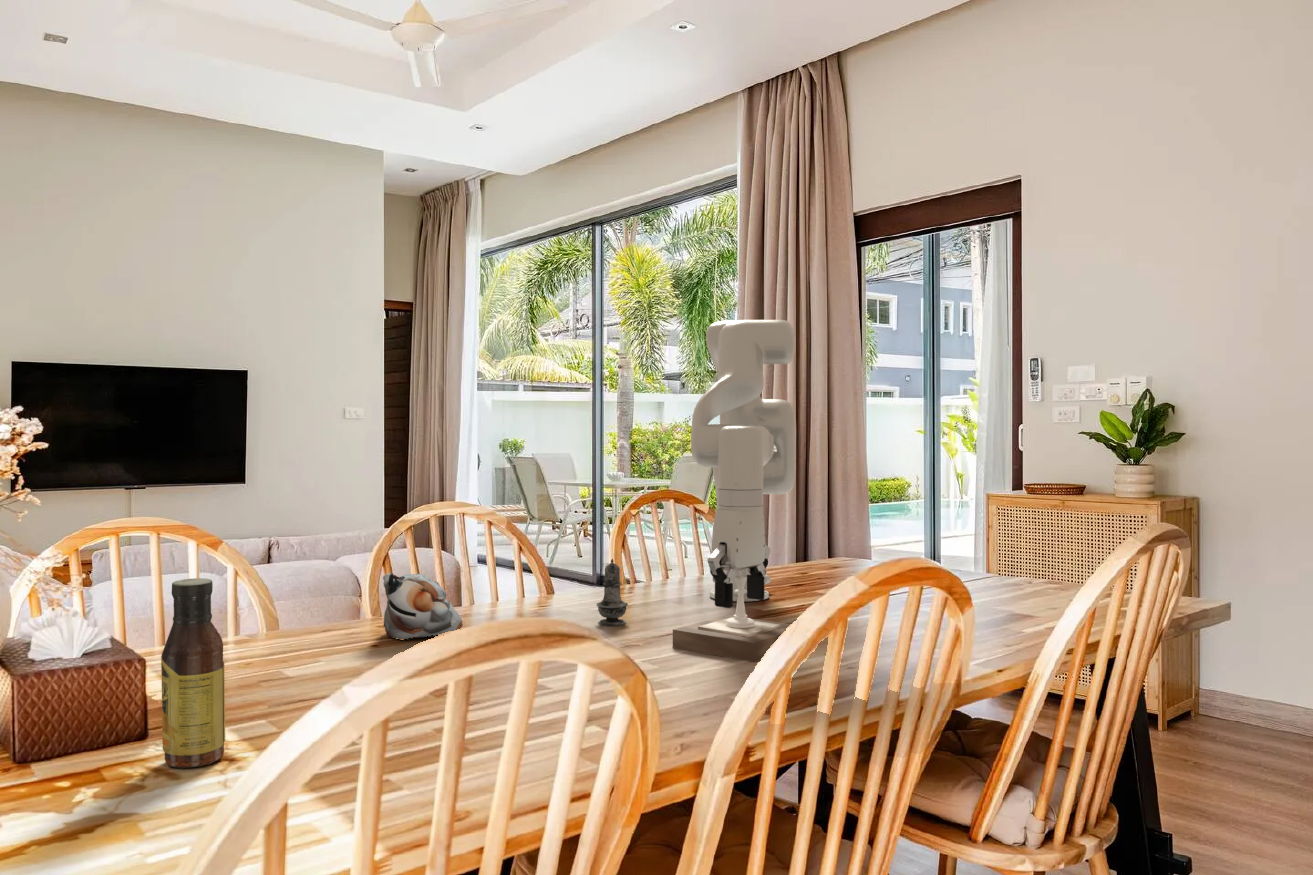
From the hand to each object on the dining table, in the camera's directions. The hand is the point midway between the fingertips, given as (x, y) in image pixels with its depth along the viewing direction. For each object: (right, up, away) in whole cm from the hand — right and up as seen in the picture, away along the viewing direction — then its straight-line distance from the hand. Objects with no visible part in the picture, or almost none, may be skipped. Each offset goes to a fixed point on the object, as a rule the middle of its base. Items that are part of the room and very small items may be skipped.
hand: (739, 602), depth 166 cm
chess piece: (0, -4, 0) cm, 4 cm away
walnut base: (0, -7, 0) cm, 7 cm away
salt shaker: (-22, -7, +19) cm, 30 cm away
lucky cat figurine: (-54, -7, +7) cm, 55 cm away
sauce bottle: (-64, -8, -57) cm, 87 cm away
